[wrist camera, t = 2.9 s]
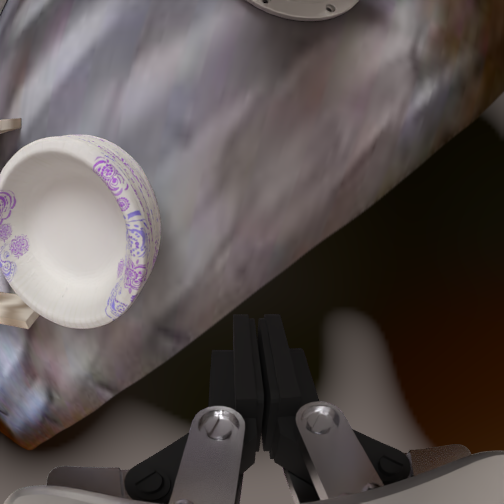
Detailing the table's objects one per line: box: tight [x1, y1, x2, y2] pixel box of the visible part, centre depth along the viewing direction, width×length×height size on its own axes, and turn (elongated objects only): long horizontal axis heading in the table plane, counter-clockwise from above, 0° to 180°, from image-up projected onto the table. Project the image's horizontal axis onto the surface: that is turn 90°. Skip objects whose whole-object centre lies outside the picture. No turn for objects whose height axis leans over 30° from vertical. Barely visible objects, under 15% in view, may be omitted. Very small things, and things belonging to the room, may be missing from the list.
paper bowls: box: [0, 135, 161, 329], centre depth 22 cm, size 15×15×8 cm
